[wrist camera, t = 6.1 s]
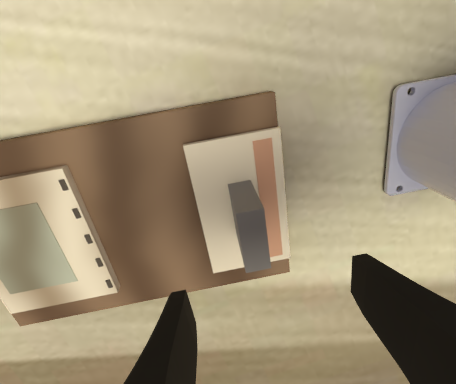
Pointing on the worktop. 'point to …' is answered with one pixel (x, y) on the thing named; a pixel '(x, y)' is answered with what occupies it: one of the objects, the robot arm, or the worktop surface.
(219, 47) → the worktop surface
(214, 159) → the stub
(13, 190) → the ticket board
